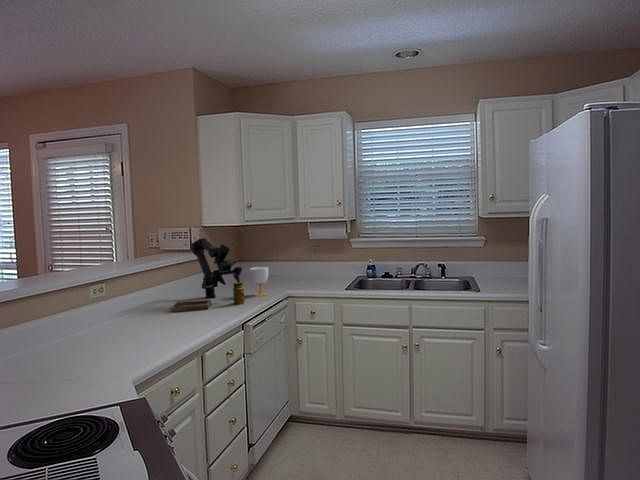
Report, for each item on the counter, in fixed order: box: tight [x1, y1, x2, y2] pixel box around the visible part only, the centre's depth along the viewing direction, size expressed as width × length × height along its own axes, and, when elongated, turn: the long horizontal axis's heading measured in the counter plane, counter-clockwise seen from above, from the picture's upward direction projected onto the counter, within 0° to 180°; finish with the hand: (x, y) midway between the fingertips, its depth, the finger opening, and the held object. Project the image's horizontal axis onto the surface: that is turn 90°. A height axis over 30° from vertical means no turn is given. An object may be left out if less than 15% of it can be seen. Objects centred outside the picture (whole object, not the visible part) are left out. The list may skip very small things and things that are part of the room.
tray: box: [170, 299, 212, 313], centre depth 267 cm, size 16×20×2 cm
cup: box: [249, 266, 269, 297], centre depth 297 cm, size 12×12×17 cm
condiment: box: [228, 282, 247, 307], centre depth 272 cm, size 7×8×12 cm
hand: (232, 283), depth 275 cm, fingers open, 9 cm apart
